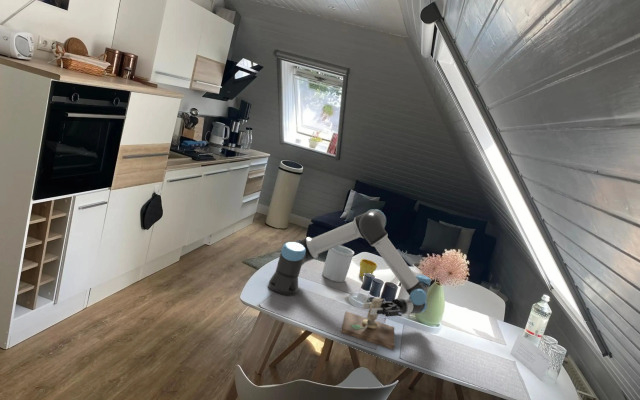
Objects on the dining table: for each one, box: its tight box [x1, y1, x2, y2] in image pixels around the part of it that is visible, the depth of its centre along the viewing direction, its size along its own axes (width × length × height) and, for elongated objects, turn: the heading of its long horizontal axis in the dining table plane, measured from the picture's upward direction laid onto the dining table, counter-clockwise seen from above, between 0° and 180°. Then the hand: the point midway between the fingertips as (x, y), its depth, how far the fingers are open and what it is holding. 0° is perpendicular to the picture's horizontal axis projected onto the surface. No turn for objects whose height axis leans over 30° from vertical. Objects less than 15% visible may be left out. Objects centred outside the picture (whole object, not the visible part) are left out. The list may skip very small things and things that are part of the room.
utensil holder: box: [321, 245, 355, 283], centre depth 288 cm, size 15×15×18 cm
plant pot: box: [358, 258, 378, 279], centre depth 305 cm, size 10×10×10 cm
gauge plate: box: [340, 311, 396, 350], centre depth 230 cm, size 24×20×2 cm
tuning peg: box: [361, 296, 383, 332], centre depth 227 cm, size 7×14×13 cm, turn 155°
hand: (367, 308), depth 227 cm, fingers closed on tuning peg, 5 cm apart
